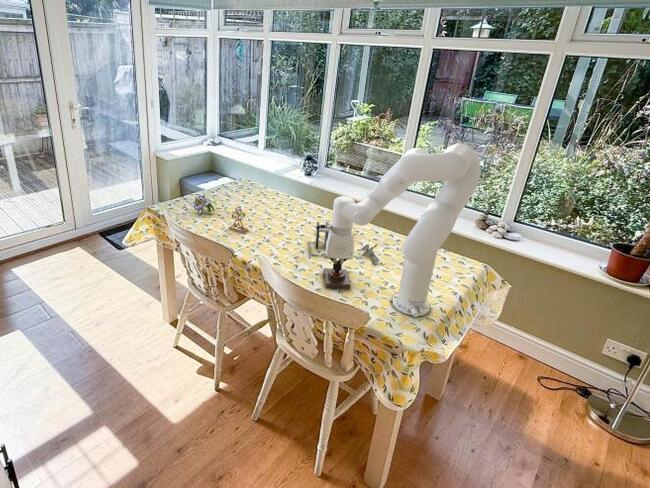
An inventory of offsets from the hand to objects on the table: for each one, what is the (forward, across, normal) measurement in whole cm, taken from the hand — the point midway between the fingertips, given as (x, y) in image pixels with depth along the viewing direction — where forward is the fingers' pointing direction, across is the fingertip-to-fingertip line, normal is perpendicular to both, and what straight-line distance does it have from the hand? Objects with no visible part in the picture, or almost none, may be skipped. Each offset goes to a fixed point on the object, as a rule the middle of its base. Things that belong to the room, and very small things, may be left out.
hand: (336, 271), depth 160 cm
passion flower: (+5, -64, +61) cm, 89 cm away
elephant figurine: (+5, +17, +18) cm, 26 cm away
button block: (+4, 0, 0) cm, 4 cm away
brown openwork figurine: (+5, -43, +41) cm, 60 cm away
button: (+2, 0, 0) cm, 2 cm away
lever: (-7, -4, +20) cm, 22 cm away
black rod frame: (+4, -4, +25) cm, 26 cm away
